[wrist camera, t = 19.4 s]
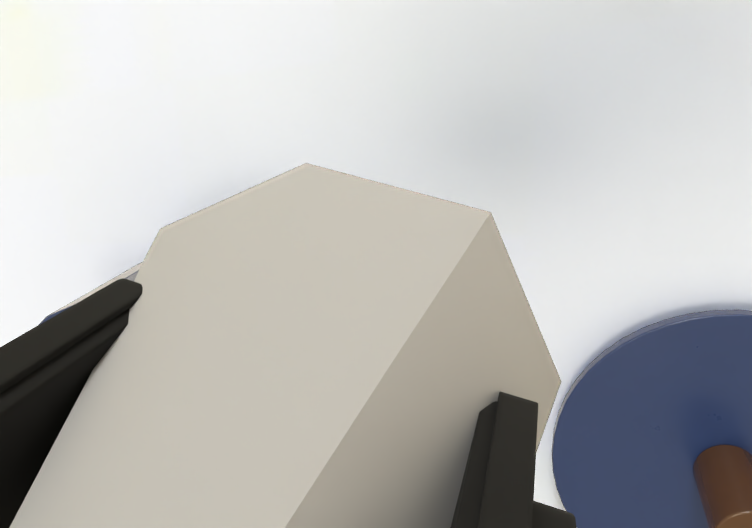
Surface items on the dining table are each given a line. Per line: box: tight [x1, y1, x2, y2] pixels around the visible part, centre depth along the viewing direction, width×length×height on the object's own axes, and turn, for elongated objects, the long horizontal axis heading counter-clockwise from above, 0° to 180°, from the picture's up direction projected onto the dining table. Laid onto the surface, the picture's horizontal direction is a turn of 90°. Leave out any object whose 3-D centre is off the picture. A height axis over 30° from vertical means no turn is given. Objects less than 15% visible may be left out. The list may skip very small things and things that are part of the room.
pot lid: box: [552, 310, 752, 528], centre depth 28 cm, size 15×15×6 cm
